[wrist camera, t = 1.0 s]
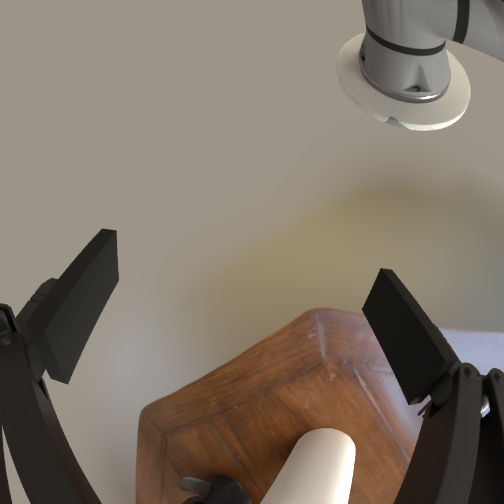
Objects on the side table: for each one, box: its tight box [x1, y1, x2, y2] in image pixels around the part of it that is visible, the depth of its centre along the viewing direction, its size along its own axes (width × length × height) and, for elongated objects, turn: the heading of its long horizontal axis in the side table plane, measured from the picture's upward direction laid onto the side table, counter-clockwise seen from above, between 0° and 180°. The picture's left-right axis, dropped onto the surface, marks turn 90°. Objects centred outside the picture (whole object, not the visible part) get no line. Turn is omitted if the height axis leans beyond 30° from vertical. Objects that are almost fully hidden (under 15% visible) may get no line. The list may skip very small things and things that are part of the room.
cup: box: [260, 428, 355, 504], centre depth 22 cm, size 8×8×16 cm
